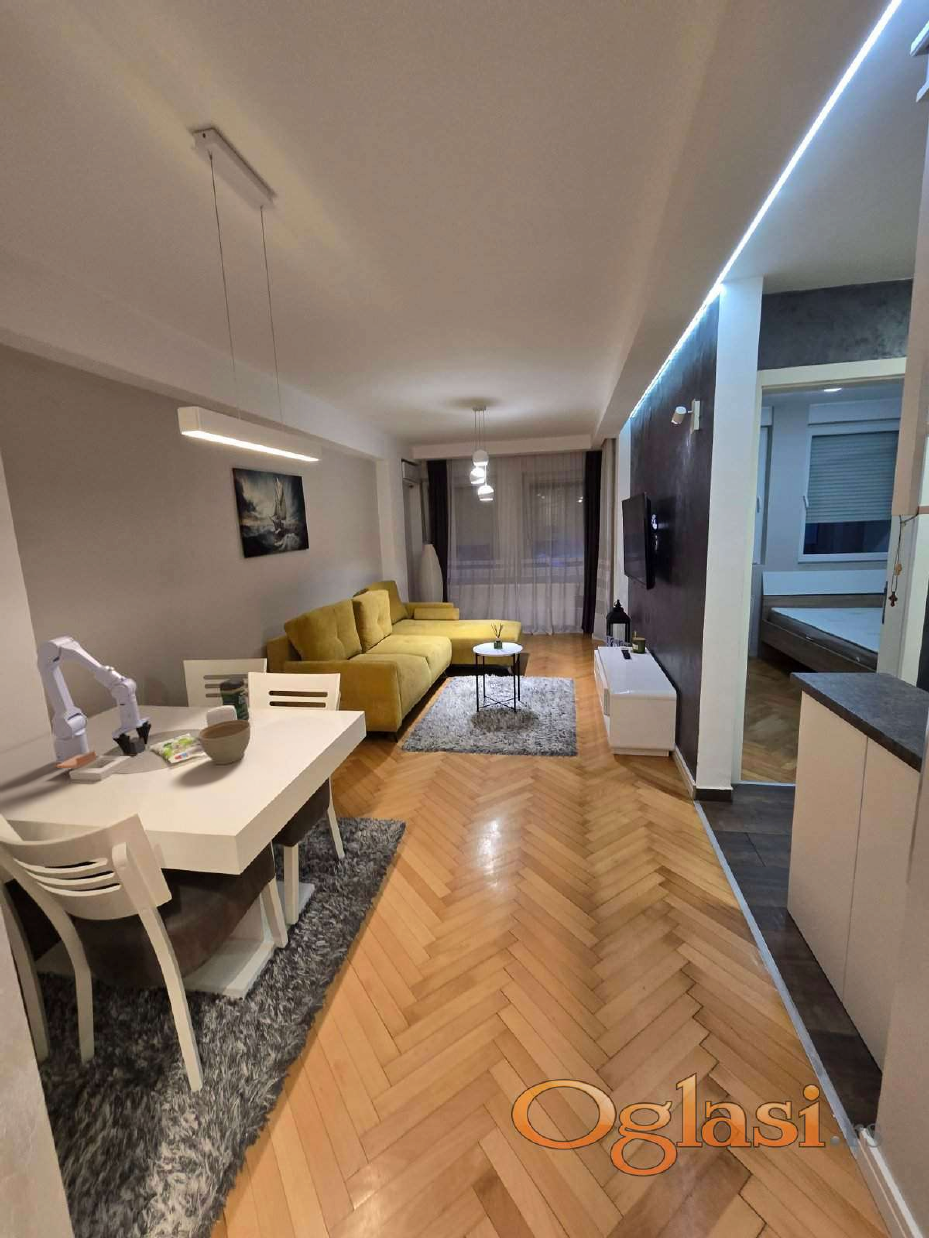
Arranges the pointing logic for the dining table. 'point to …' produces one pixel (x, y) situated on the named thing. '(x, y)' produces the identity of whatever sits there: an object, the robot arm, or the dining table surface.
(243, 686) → the coffee jar
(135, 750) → the grey block
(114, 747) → the dining table surface
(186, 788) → the dining table surface
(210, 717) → the white rounded block
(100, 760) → the socket
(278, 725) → the dining table surface
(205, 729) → the planter bowl
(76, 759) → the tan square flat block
